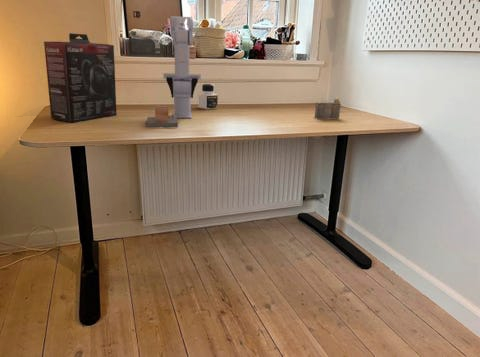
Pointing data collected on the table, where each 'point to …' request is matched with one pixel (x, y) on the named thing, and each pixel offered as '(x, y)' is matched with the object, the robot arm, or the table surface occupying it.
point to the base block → (162, 122)
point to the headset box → (80, 79)
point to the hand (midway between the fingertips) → (182, 97)
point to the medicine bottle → (208, 97)
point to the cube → (161, 113)
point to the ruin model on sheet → (328, 109)
